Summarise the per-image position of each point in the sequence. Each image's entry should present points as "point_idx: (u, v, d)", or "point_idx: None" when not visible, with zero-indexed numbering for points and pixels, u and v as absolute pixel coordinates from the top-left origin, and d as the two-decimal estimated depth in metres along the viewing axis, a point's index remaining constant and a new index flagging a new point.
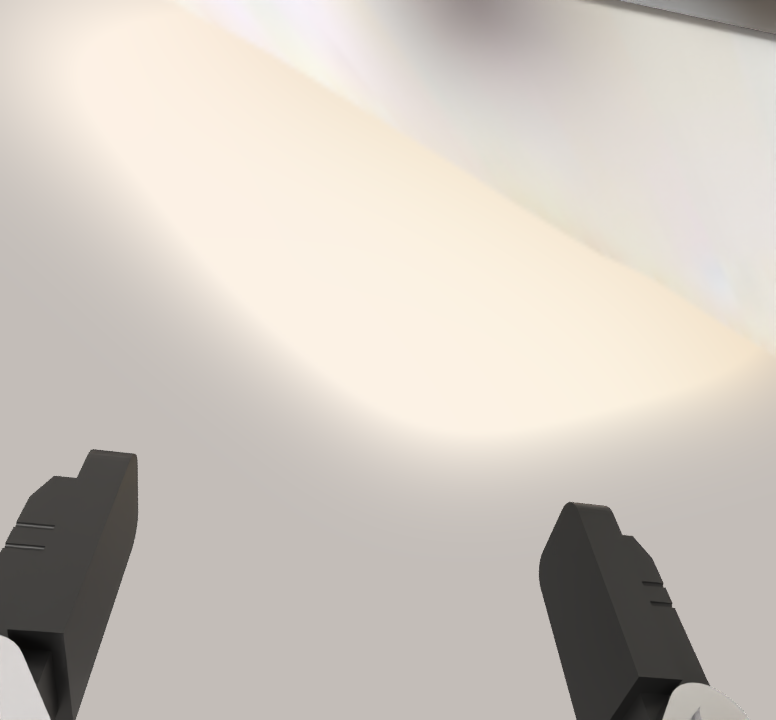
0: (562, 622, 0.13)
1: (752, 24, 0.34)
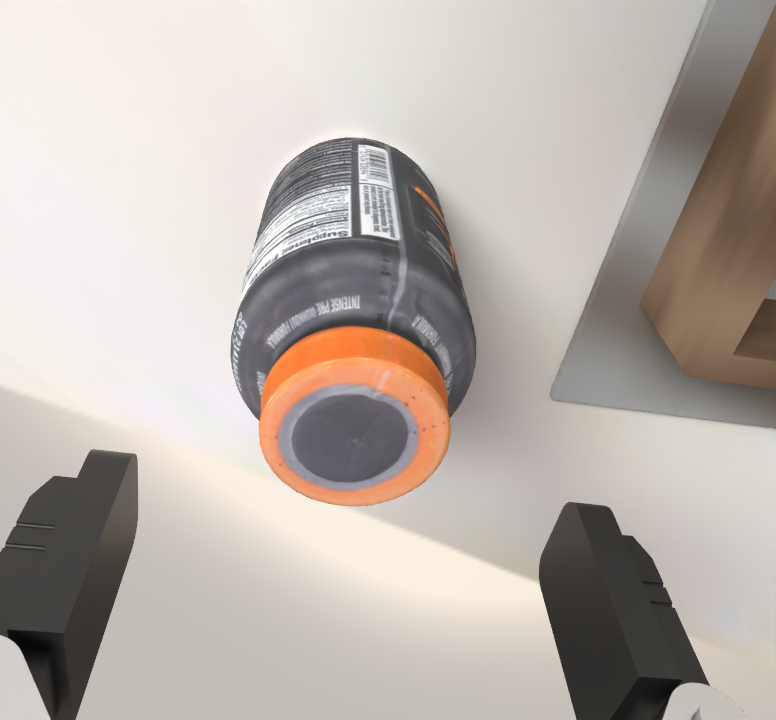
0: (562, 622, 0.13)
1: None
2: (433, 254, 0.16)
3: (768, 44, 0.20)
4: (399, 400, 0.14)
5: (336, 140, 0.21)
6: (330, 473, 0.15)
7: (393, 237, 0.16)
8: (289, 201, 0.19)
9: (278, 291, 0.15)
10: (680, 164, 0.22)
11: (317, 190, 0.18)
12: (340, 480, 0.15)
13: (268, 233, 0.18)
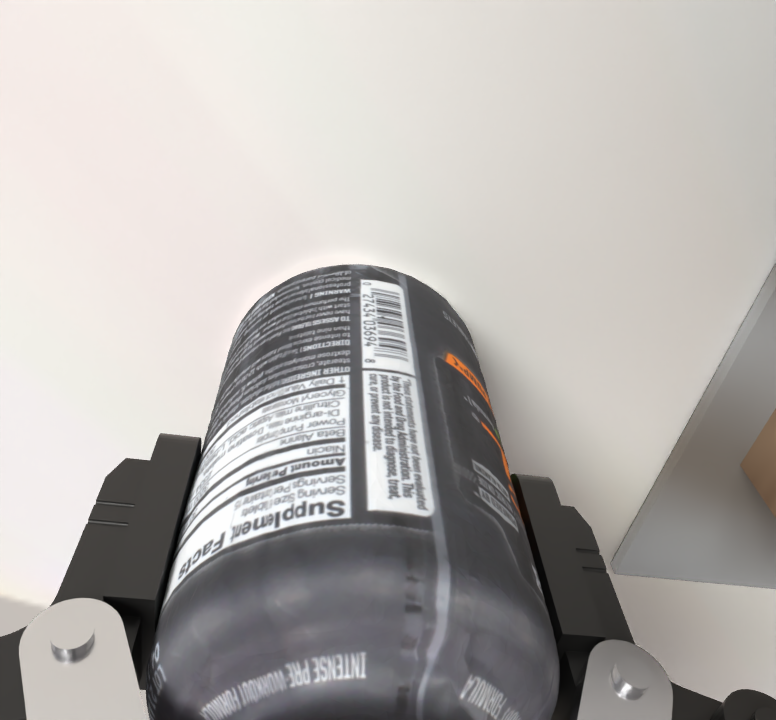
0: None
1: None
2: (488, 523, 0.10)
3: None
4: None
5: (328, 270, 0.15)
6: None
7: (422, 509, 0.09)
8: (253, 393, 0.12)
9: (217, 633, 0.08)
10: None
11: (297, 382, 0.12)
12: None
13: (218, 455, 0.11)
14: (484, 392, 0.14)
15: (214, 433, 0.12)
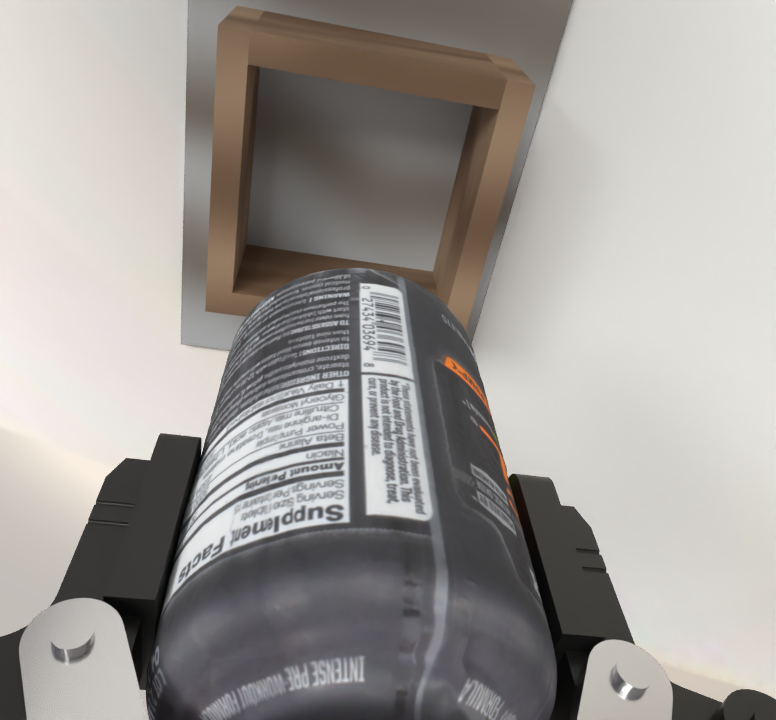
0: None
1: None
2: (486, 527, 0.10)
3: None
4: None
5: (327, 273, 0.15)
6: None
7: (421, 514, 0.09)
8: (253, 397, 0.12)
9: (217, 638, 0.08)
10: (210, 145, 0.28)
11: (296, 386, 0.12)
12: None
13: (217, 459, 0.11)
14: (483, 395, 0.14)
15: (214, 437, 0.12)
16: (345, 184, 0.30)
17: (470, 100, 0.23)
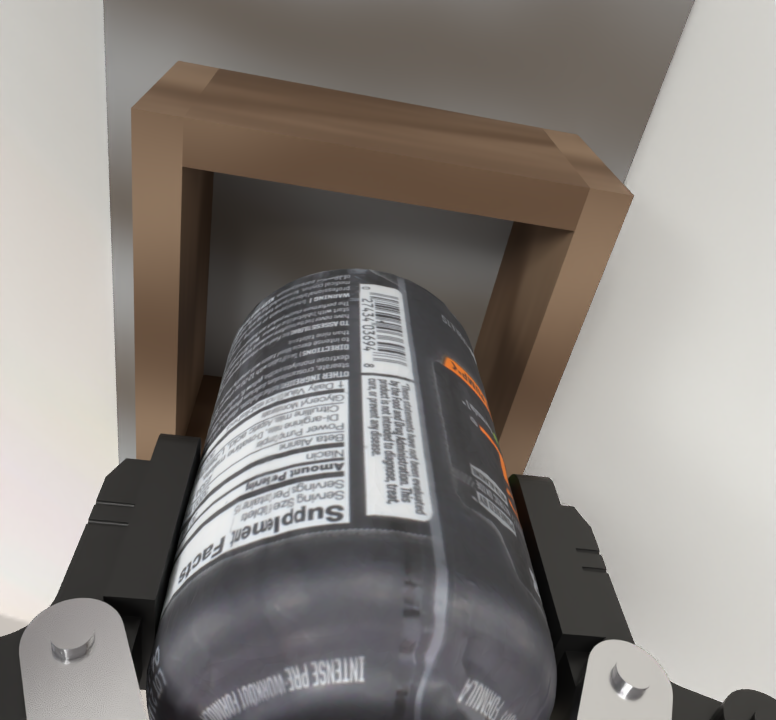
0: None
1: None
2: (486, 528, 0.10)
3: None
4: None
5: (327, 274, 0.15)
6: None
7: (421, 514, 0.09)
8: (253, 397, 0.12)
9: (217, 638, 0.08)
10: None
11: (296, 387, 0.12)
12: None
13: (218, 459, 0.11)
14: (482, 396, 0.14)
15: (214, 437, 0.12)
16: None
17: (531, 217, 0.15)
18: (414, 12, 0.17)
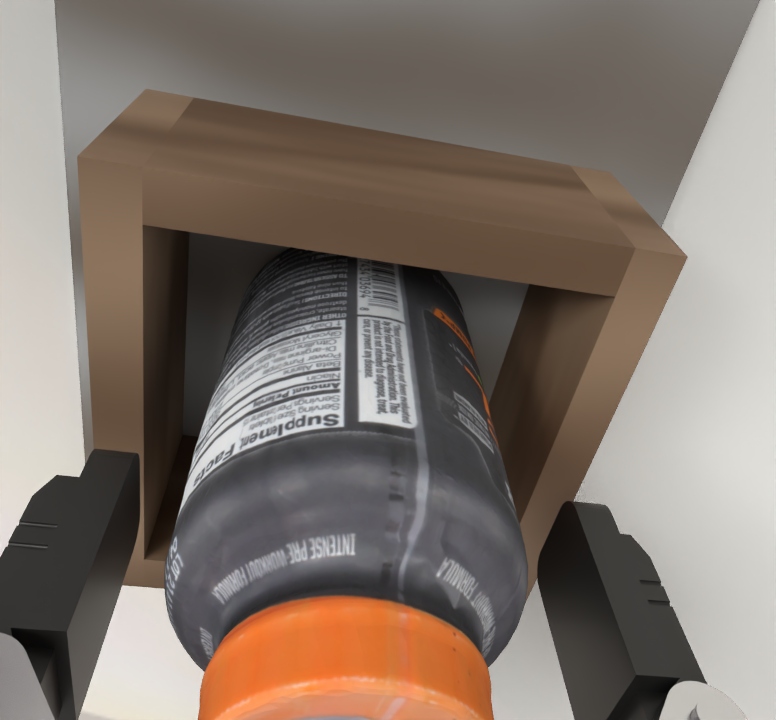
0: (560, 621, 0.13)
1: None
2: (465, 439, 0.11)
3: None
4: None
5: None
6: None
7: (407, 423, 0.11)
8: (260, 337, 0.13)
9: (228, 520, 0.10)
10: None
11: (298, 326, 0.13)
12: None
13: (228, 389, 0.13)
14: (469, 345, 0.15)
15: (224, 375, 0.14)
16: None
17: (564, 282, 0.13)
18: (423, 33, 0.14)
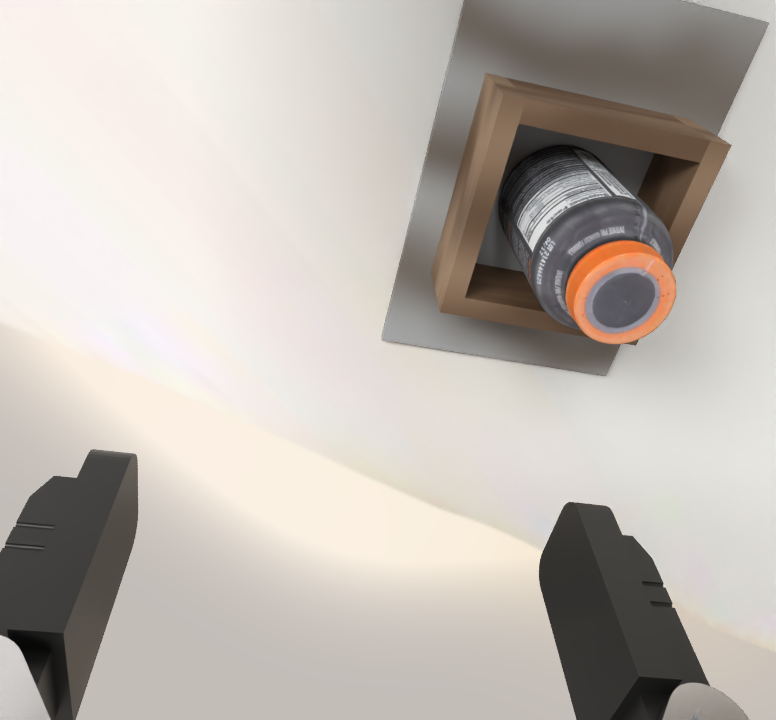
0: (562, 622, 0.13)
1: (545, 363, 0.42)
2: None
3: (478, 107, 0.33)
4: (655, 277, 0.26)
5: (556, 146, 0.34)
6: (608, 320, 0.27)
7: (632, 197, 0.28)
8: (548, 180, 0.31)
9: (577, 223, 0.28)
10: (441, 179, 0.35)
11: (568, 174, 0.31)
12: (612, 326, 0.27)
13: (542, 198, 0.30)
14: None
15: (530, 197, 0.31)
16: None
17: (680, 155, 0.31)
18: (612, 51, 0.32)
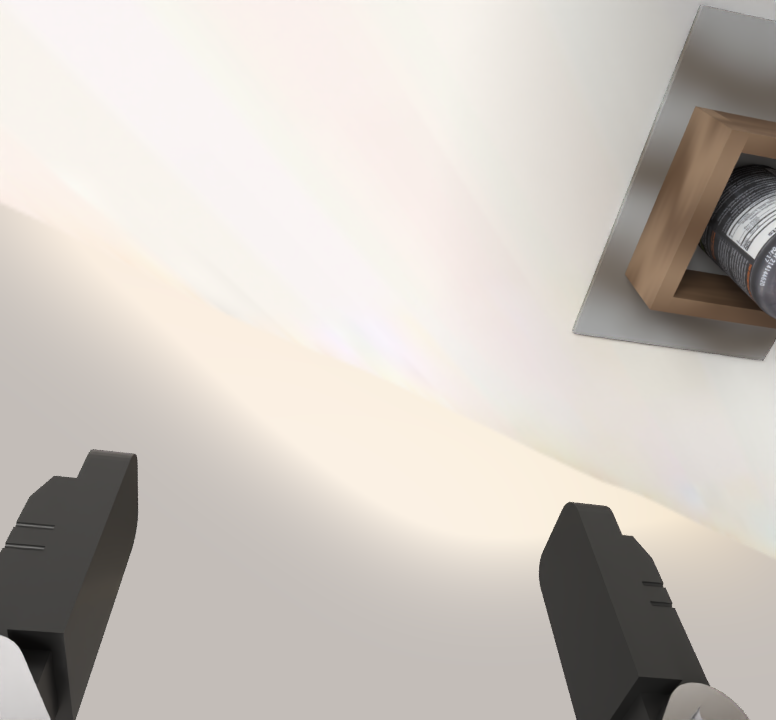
0: (562, 622, 0.13)
1: (712, 350, 0.48)
2: None
3: (688, 135, 0.39)
4: None
5: (749, 165, 0.40)
6: None
7: None
8: (757, 197, 0.37)
9: None
10: (645, 195, 0.41)
11: None
12: None
13: (755, 212, 0.36)
14: None
15: (740, 212, 0.37)
16: None
17: None
18: None
